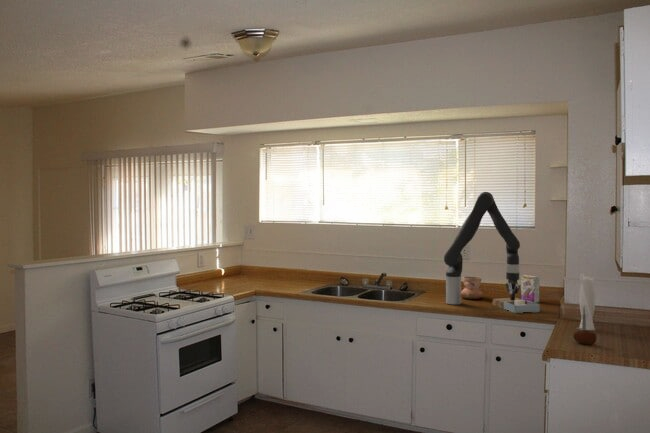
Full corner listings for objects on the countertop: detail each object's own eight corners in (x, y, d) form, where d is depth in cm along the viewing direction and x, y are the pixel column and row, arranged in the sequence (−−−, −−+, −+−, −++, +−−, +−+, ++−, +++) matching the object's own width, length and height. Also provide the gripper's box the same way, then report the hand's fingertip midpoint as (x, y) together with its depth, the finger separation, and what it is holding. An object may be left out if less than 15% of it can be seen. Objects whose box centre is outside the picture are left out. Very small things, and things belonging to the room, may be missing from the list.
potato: (592, 347, 247) (592, 332, 247) (570, 343, 253) (570, 329, 253) (598, 344, 252) (598, 330, 251) (577, 340, 258) (577, 326, 258)
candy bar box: (520, 300, 363) (520, 275, 363) (525, 299, 365) (525, 274, 365) (534, 303, 353) (534, 277, 353) (539, 302, 356) (539, 276, 355)
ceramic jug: (476, 301, 361) (477, 279, 361) (455, 298, 371) (456, 277, 370) (487, 298, 375) (488, 276, 375) (467, 295, 385) (468, 274, 384)
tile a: (514, 300, 334) (517, 300, 331) (522, 299, 335) (524, 300, 332) (514, 308, 334) (517, 309, 331) (522, 308, 335) (524, 308, 332)
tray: (503, 309, 335) (503, 301, 335) (527, 307, 338) (528, 300, 338) (515, 313, 322) (515, 305, 322) (540, 312, 325) (540, 304, 325)
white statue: (574, 327, 286) (574, 273, 285) (589, 327, 286) (589, 272, 286) (583, 331, 277) (583, 275, 277) (598, 331, 278) (599, 274, 277)
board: (492, 305, 348) (492, 298, 348) (516, 304, 351) (516, 297, 351) (503, 309, 335) (503, 302, 335) (527, 307, 338) (527, 301, 338)
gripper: (501, 270, 344) (501, 298, 345) (512, 273, 331) (512, 302, 332) (512, 270, 346) (512, 298, 346) (524, 272, 333) (524, 302, 333)
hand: (512, 300), depth 339 cm, fingers closed
